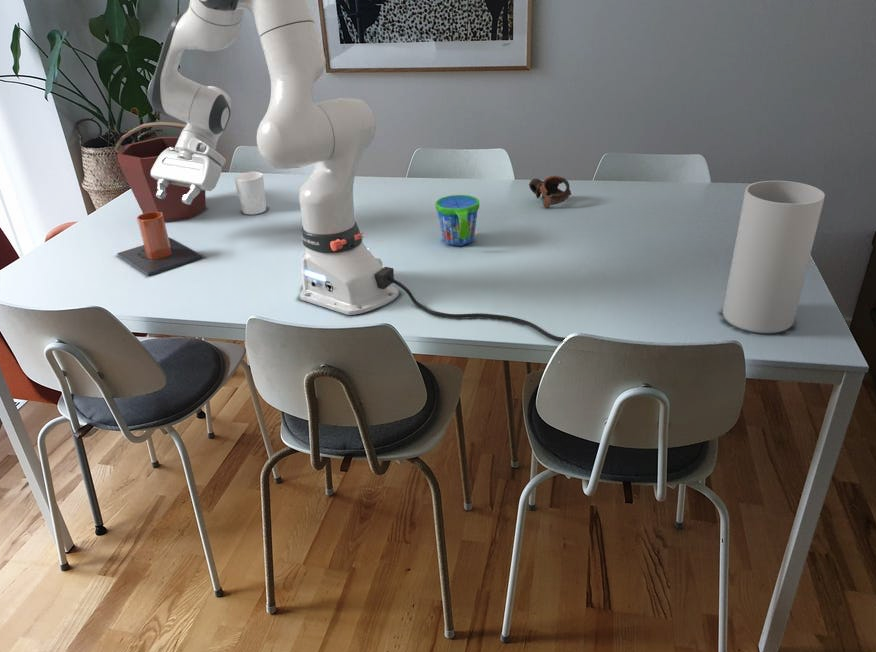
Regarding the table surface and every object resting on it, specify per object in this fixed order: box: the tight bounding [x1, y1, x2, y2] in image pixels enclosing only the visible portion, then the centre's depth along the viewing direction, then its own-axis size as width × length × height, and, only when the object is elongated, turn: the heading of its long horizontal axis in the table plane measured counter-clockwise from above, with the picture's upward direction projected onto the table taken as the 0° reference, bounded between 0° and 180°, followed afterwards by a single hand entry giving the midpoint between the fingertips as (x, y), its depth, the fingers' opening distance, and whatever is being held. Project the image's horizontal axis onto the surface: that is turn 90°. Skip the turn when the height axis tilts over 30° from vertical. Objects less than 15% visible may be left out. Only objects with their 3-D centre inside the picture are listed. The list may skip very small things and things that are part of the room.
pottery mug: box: [528, 175, 572, 209], centre depth 200 cm, size 12×10×8 cm
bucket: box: [114, 121, 207, 223], centre depth 204 cm, size 24×22×25 cm
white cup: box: [233, 171, 267, 215], centre depth 206 cm, size 8×8×10 cm
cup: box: [136, 212, 172, 259], centre depth 179 cm, size 6×6×10 cm
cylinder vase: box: [722, 180, 826, 334], centre depth 134 cm, size 12×12×25 cm
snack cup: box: [435, 194, 481, 247], centre depth 179 cm, size 16×10×10 cm
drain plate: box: [116, 236, 203, 277], centre depth 182 cm, size 18×14×1 cm
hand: (172, 200), depth 181 cm, fingers open, 8 cm apart
